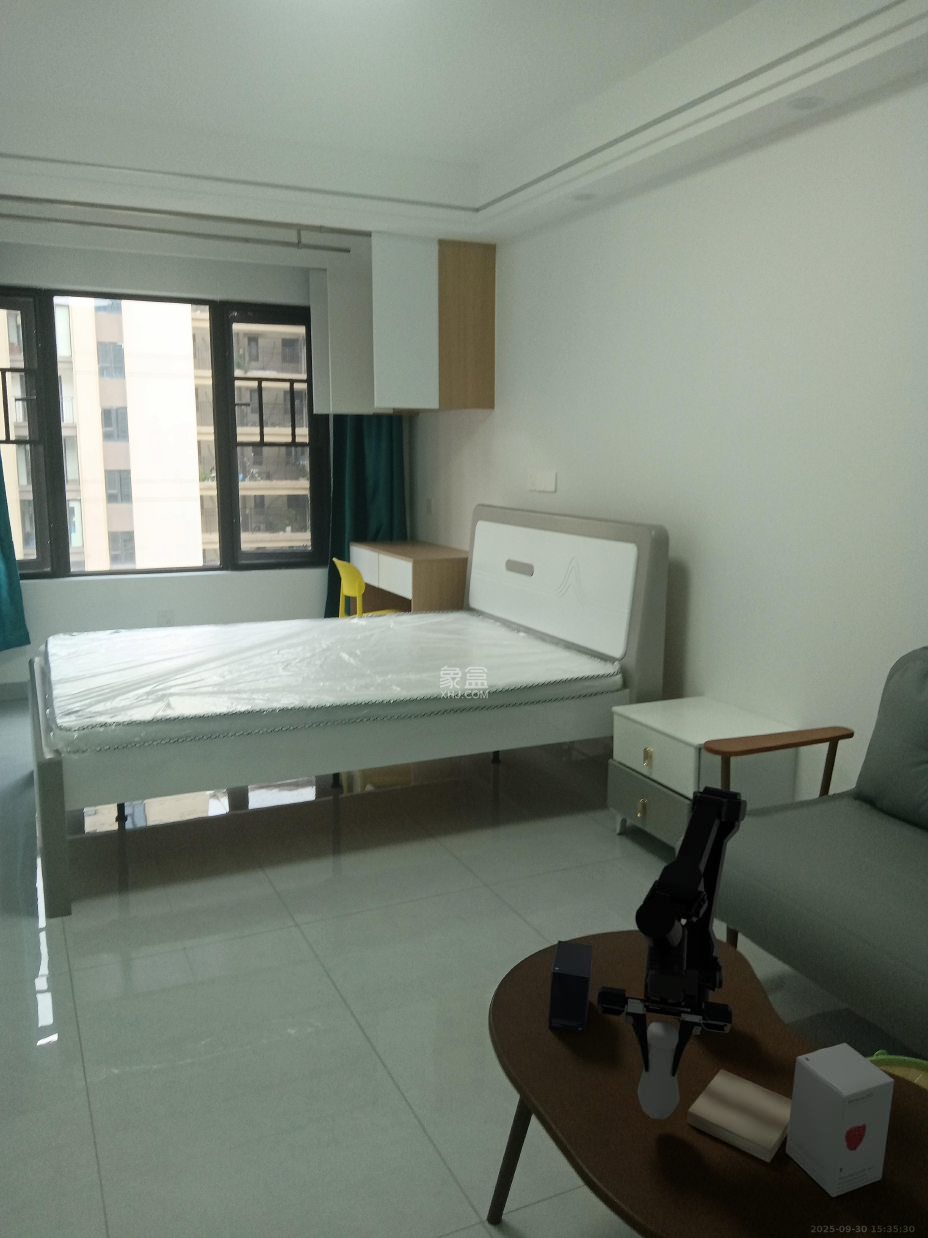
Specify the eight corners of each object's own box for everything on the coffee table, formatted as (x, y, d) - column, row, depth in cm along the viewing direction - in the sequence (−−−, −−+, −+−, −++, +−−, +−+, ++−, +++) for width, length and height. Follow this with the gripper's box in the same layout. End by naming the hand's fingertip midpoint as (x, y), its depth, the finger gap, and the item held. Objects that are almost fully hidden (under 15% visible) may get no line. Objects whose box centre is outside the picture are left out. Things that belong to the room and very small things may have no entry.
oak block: (720, 1083, 145) (721, 1069, 144) (798, 1119, 138) (799, 1103, 137) (686, 1126, 135) (688, 1110, 135) (768, 1166, 128) (770, 1150, 128)
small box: (586, 1035, 155) (589, 976, 153) (546, 1029, 156) (549, 971, 154) (590, 999, 165) (594, 944, 163) (553, 993, 166) (556, 939, 165)
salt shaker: (685, 1110, 134) (692, 1027, 131) (664, 1130, 129) (671, 1046, 127) (650, 1090, 138) (656, 1009, 135) (628, 1109, 133) (634, 1026, 131)
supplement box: (832, 1200, 122) (844, 1097, 119) (783, 1153, 130) (793, 1055, 127) (884, 1180, 126) (896, 1080, 123) (833, 1135, 134) (844, 1040, 131)
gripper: (601, 935, 135) (590, 1052, 126) (736, 953, 131) (735, 1075, 122) (603, 956, 144) (593, 1067, 135) (729, 974, 140) (727, 1089, 131)
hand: (659, 1074), depth 131 cm, fingers closed on salt shaker, 3 cm apart
